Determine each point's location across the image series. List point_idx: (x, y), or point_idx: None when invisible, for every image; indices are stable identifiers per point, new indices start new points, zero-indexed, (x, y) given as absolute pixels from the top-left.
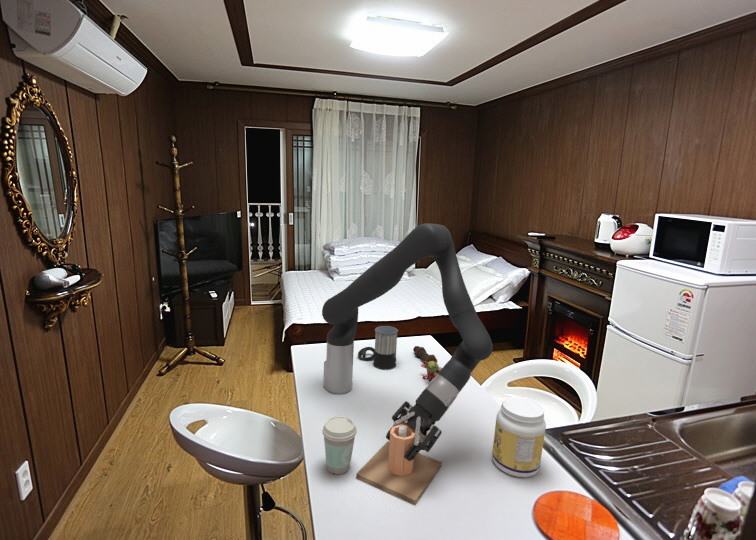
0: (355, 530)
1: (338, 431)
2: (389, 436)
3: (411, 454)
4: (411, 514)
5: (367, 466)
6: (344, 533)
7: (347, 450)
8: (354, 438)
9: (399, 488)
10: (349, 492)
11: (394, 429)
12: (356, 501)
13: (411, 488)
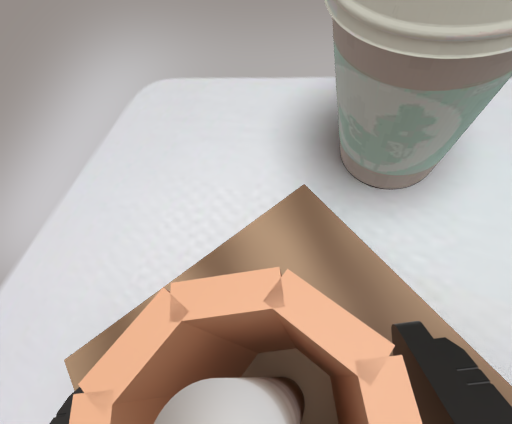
0: (108, 146)
1: None
2: (403, 349)
3: (60, 414)
4: (55, 322)
5: (338, 238)
6: (115, 123)
7: (340, 83)
8: (396, 84)
9: None
10: (243, 159)
11: (324, 348)
12: (197, 170)
13: None
